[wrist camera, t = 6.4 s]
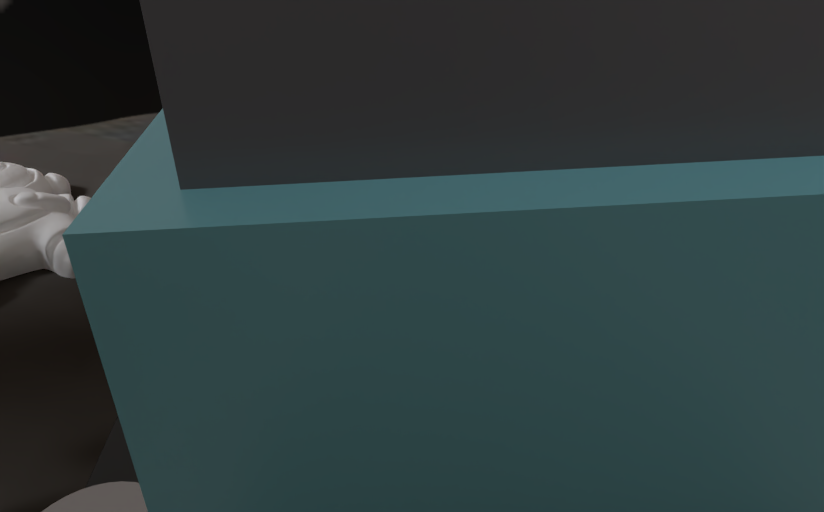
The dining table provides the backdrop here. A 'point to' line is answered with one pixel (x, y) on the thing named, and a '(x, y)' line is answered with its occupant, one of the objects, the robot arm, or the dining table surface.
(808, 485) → the teal square bottle
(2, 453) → the dining table surface
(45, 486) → the dining table surface
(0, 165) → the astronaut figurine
